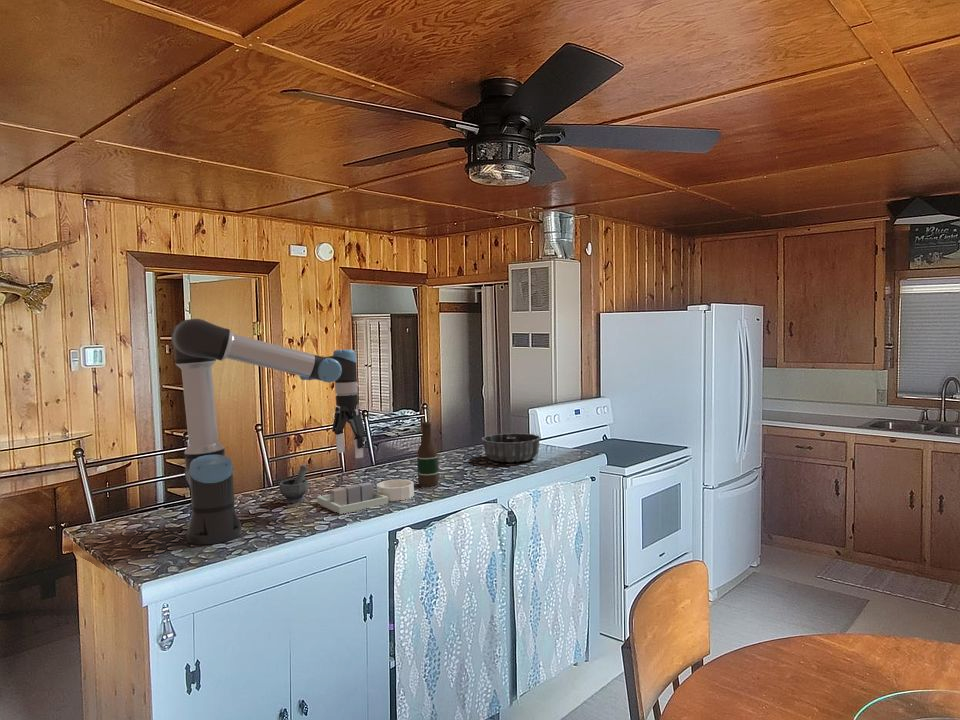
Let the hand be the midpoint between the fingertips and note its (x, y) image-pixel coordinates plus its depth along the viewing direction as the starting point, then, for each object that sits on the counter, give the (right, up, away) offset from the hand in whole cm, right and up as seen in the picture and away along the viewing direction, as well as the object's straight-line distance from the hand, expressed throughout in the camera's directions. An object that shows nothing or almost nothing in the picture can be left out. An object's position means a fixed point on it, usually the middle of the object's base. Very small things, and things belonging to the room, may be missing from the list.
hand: (349, 455), depth 226 cm
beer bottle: (+25, -15, +23) cm, 37 cm away
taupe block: (-3, -17, -4) cm, 18 cm away
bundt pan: (+59, -12, +66) cm, 89 cm away
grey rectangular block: (+1, -17, -1) cm, 17 cm away
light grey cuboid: (+5, -16, +2) cm, 17 cm away
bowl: (+15, -16, +7) cm, 23 cm away
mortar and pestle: (-20, -17, +5) cm, 27 cm away
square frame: (+1, -17, -1) cm, 17 cm away
